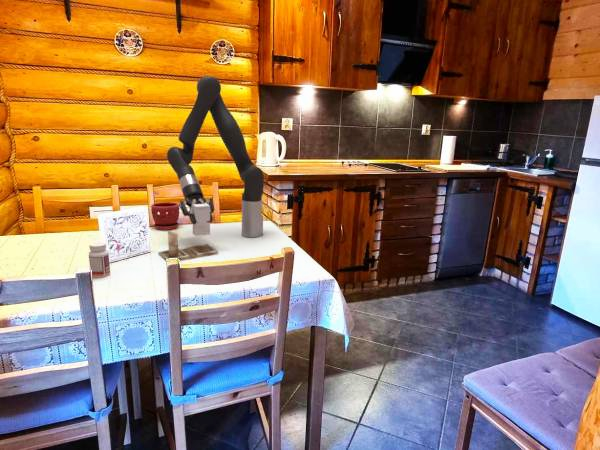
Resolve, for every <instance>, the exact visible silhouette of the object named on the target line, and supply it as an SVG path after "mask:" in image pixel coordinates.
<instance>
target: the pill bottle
mask: <svg viewBox="0 0 600 450" xmlns="http://www.w3.org/2000/svg"><path fill="white" fill-rule="evenodd" d="M88 246H89V253H88V261H89V262H88V263H89V268H90V267H91V270H92V276H91V277H93V278H95V279H97V278H104V277H108V276H109V275H110V274H111V267H110V265H111V264H110V256H109V255H110V253H109V250H108V249H107V243H106V242H104V241H95V242H91V243H89V244H88Z"/></svg>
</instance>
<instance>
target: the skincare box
mask: <svg viewBox="0 0 600 450" xmlns="http://www.w3.org/2000/svg"><path fill="white" fill-rule="evenodd" d="M193 210H194V211H193V214H194V215H195V218H196V221H197V222H196V224H193V223H192V234H193V235H194V236H195V237H198V236H199V237H201V236H209V235H211V223H210V205H208V204H207V203H205V204H194V205H193Z"/></svg>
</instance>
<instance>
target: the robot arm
mask: <svg viewBox="0 0 600 450" xmlns="http://www.w3.org/2000/svg"><path fill="white" fill-rule="evenodd" d="M221 86H222V85H221V83H220V80H218V79H217V77H215V76H212V75H205V76H203V77H200V78H199V80H198V81H197V82H196V91H197V95H196V98H195V99H196V100H195V102H194V105H193V107H192V109H191V110H190V113H189V114H188V116H187V118H186V119H185V121H184V124H183V126H182V128H181V130H180V133H179V135H178V141H179V142H180V143H181V144H182V145H183V146H182V148H181V147H178V146H171V147H169V149H168V150H167V153H166V159H167V161H168V163H169V166H171V168H172V170H173V171H174V172H175V173H176V176H177V178H178V182H179V186H180V190H181V192H182V195H183V197H184V200H185V201H183V200H180V201H179V202H178V204H179V209H180V210H181V213H182V214H183V216H184V217H189V219H190V222H191V223H192V225H193V224H196V222H197V221H196V218H195V215H194V214H193V211H194V210H193V205H194V204H208V205H210V224H211V223H212V222H213V219H214V216H213V213H214V211H215V205H214V201H213V198H212V197H210V198H209V199H207V198H205V197H204V193H203V190H202V188H201V185H200V182H199V180H198V178H197V176H196V173H195V171H194V169H193V167H192V166H191V165H190V164H191V163H192V161H193V158H194V151H195V144H196V142H197V139H198V137H199V134H200V131H201V130H202V127H203V125H204V122H205V120H206V117H207V115H208V113H210V115H211V117H212V120H213V123H214V124H215V127H216V130H217V132H218V134H219V136H220V138H221V140H222V142H223V144H224V146H225V147H226V150H227V151H228V153H229V154H230V157H231V158H232V160H233V161H234V164H235V167H236V170H237V172H238V175H239V177H240V180H241V181H242V182H243V183H244V190H243V193H242V194H241V236H242V237H244V238H250V239H251V238H258V237H261V236H263V235H264V215H262V208H263V207H262V205H263V203H262V201H263V199H262V198H263V195H264V185H265V183H264V182H265V180H264V172H263V170H262V169H261V168H260V167H258V166H257V165H255V164H254V163H253V161H252V159H251V157H250V156H249V153H248V151H247V147H246V146H247V145H246V141H245V137H244V134H243V132H242V130H241V128H240V126H239V123H238V122H237V121H236V119H235V118H234V116H233V114H232V113H231V111H230V110H229V109H228V108H227V105H226V104H225V102H224V100H223V98H222V95H221V91H222V87H221ZM187 207H189V210H188V208H187Z"/></svg>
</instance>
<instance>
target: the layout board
mask: <svg viewBox="0 0 600 450" xmlns="http://www.w3.org/2000/svg"><path fill="white" fill-rule="evenodd" d="M157 255H158V256H160V257H161V258H162V259H163V260H164V261H166V259H169V258H171V257H169V249H166V250H161V251H158V252H157ZM178 255H179V256H178V257H175V258H178V259H179V260H180V261H179V262H183V261H188V260H194V259H199V258H204V257H210V256H215V255H216V256H217V255H219V250H218V249H215V247H213V246H211V245H209V244H207V243H204V244H198V245H190V246H187V247H186V248H180V247H178Z"/></svg>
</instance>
